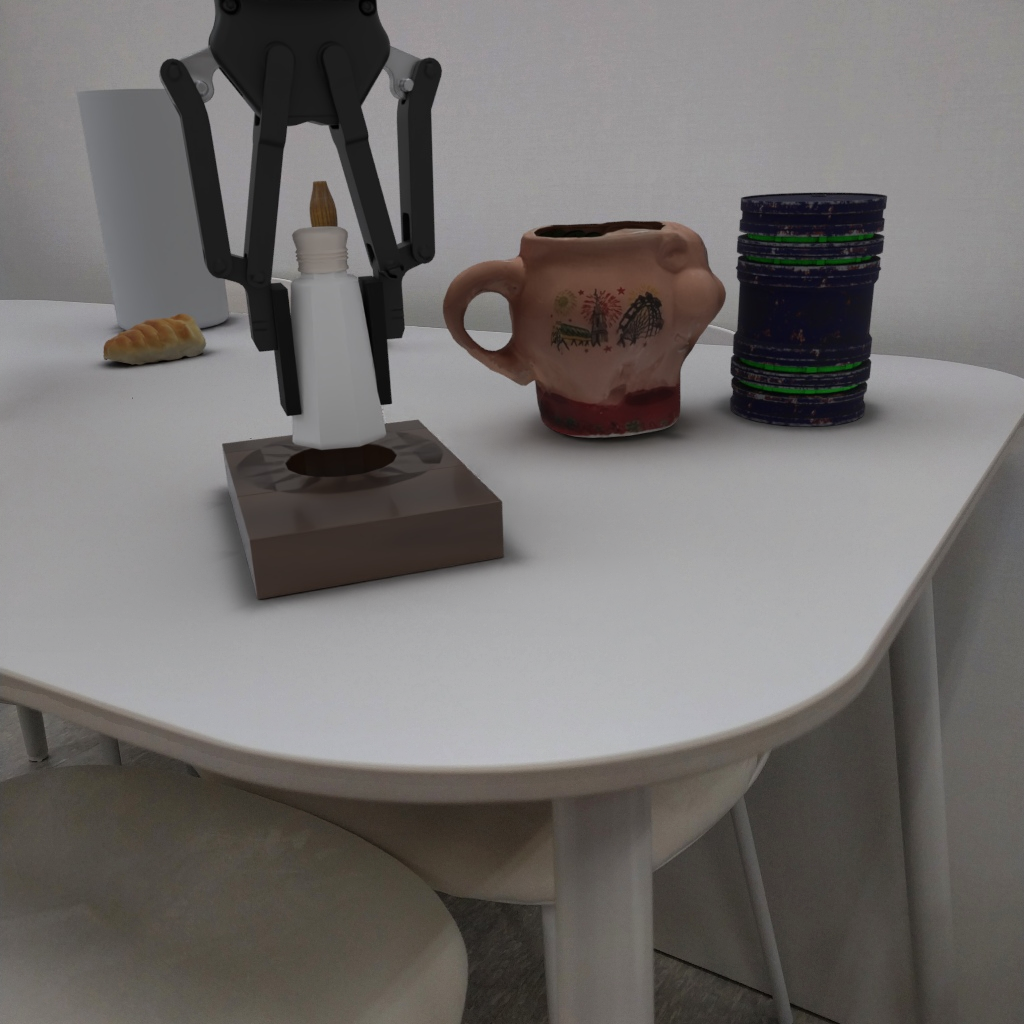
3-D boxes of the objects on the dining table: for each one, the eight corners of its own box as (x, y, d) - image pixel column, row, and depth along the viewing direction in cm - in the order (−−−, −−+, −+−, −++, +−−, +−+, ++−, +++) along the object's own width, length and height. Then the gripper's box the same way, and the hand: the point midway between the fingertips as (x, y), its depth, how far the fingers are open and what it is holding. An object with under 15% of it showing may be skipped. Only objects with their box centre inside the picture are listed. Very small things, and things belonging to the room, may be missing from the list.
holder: (228, 490, 58) (221, 443, 57) (421, 464, 62) (418, 419, 61) (257, 600, 44) (249, 540, 43) (504, 557, 48) (502, 500, 47)
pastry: (127, 371, 90) (120, 330, 89) (91, 363, 94) (83, 324, 93) (213, 352, 97) (207, 314, 96) (175, 346, 101) (169, 309, 100)
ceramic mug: (488, 474, 60) (479, 242, 55) (426, 425, 70) (413, 226, 65) (757, 429, 67) (770, 220, 62) (664, 391, 77) (669, 210, 72)
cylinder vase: (239, 313, 120) (210, 92, 111) (217, 331, 108) (183, 87, 99) (136, 317, 119) (99, 96, 110) (103, 336, 107) (58, 91, 98)
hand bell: (318, 360, 92) (300, 184, 87) (283, 347, 99) (264, 182, 93) (394, 347, 97) (382, 179, 91) (355, 336, 103) (342, 178, 97)
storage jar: (857, 432, 66) (881, 202, 60) (714, 419, 70) (724, 202, 64) (873, 397, 74) (895, 191, 69) (744, 387, 78) (755, 192, 73)
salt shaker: (312, 457, 50) (288, 235, 46) (274, 433, 54) (249, 229, 50) (406, 437, 53) (391, 227, 49) (363, 416, 57) (346, 221, 53)
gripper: (80, -124, 38) (172, 442, 47) (492, -103, 44) (507, 402, 52) (88, -84, 45) (168, 406, 53) (445, -70, 50) (466, 373, 59)
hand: (335, 403), depth 53 cm, fingers closed on salt shaker, 4 cm apart
